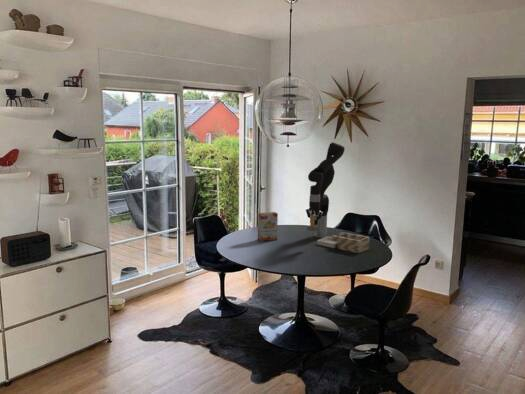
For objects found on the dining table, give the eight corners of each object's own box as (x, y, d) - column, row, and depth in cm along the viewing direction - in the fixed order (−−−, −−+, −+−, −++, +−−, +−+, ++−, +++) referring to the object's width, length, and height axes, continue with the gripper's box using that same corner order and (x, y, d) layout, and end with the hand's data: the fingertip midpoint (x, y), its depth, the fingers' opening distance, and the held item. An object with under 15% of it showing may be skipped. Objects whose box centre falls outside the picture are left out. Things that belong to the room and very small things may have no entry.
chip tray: (316, 244, 330) (316, 240, 329) (328, 240, 342) (328, 236, 342) (334, 248, 321) (334, 244, 320) (345, 243, 333) (345, 239, 332)
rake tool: (307, 230, 316) (308, 215, 315) (313, 229, 322) (314, 215, 321) (311, 231, 313) (313, 216, 313) (317, 230, 319) (319, 216, 318)
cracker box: (260, 241, 336) (260, 214, 332) (257, 239, 341) (257, 212, 338) (277, 240, 341) (277, 213, 337) (274, 238, 347) (274, 211, 343)
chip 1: (339, 238, 324) (339, 233, 323) (341, 237, 327) (342, 231, 326) (343, 239, 322) (344, 233, 321) (346, 238, 325) (346, 232, 324)
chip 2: (347, 240, 320) (347, 234, 319) (349, 238, 323) (350, 233, 322) (352, 240, 317) (352, 235, 317) (354, 239, 320) (355, 234, 320)
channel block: (331, 247, 323) (331, 235, 321) (341, 243, 334) (342, 231, 333) (358, 253, 309) (359, 241, 308) (368, 248, 320) (369, 236, 319)
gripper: (303, 199, 316) (302, 223, 320) (320, 202, 307) (319, 227, 311) (309, 198, 322) (308, 221, 325) (326, 201, 313) (325, 225, 316)
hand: (313, 224), depth 318 cm, fingers closed on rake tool, 3 cm apart
